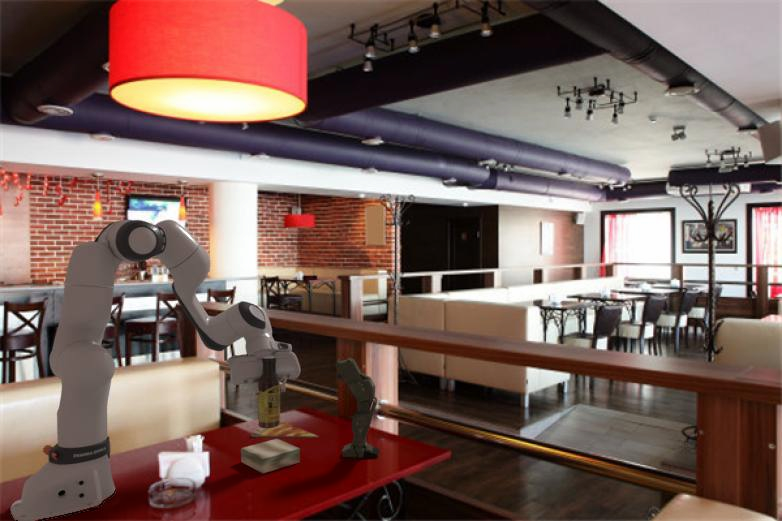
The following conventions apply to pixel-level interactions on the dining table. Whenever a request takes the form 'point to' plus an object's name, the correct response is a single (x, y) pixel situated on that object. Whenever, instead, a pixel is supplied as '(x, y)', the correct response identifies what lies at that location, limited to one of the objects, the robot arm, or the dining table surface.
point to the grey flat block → (270, 455)
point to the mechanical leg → (359, 408)
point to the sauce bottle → (269, 395)
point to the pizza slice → (282, 431)
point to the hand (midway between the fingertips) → (269, 392)
